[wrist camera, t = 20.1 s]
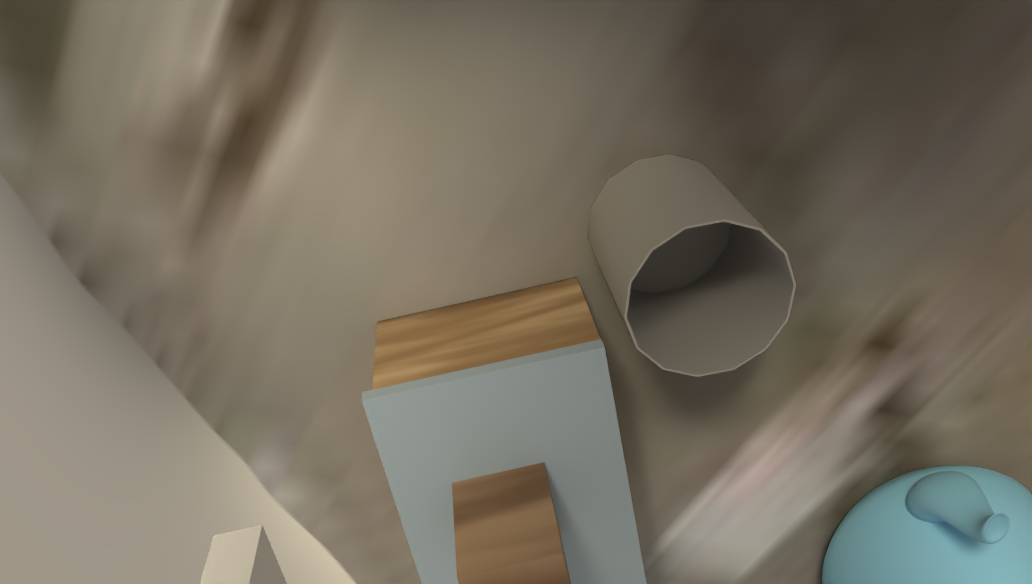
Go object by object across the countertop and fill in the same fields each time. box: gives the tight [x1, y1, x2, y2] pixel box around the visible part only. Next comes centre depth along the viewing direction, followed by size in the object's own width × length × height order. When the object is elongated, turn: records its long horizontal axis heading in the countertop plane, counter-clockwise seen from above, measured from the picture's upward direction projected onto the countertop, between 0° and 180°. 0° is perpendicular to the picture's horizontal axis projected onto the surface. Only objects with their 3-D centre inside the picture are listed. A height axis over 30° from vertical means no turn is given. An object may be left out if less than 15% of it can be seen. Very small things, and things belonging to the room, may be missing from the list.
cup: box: [588, 154, 796, 377], centre depth 48 cm, size 8×8×10 cm
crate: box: [372, 277, 600, 390], centre depth 54 cm, size 16×12×8 cm
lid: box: [362, 339, 647, 584], centre depth 50 cm, size 17×12×1 cm
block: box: [452, 462, 571, 584], centre depth 46 cm, size 5×5×7 cm
